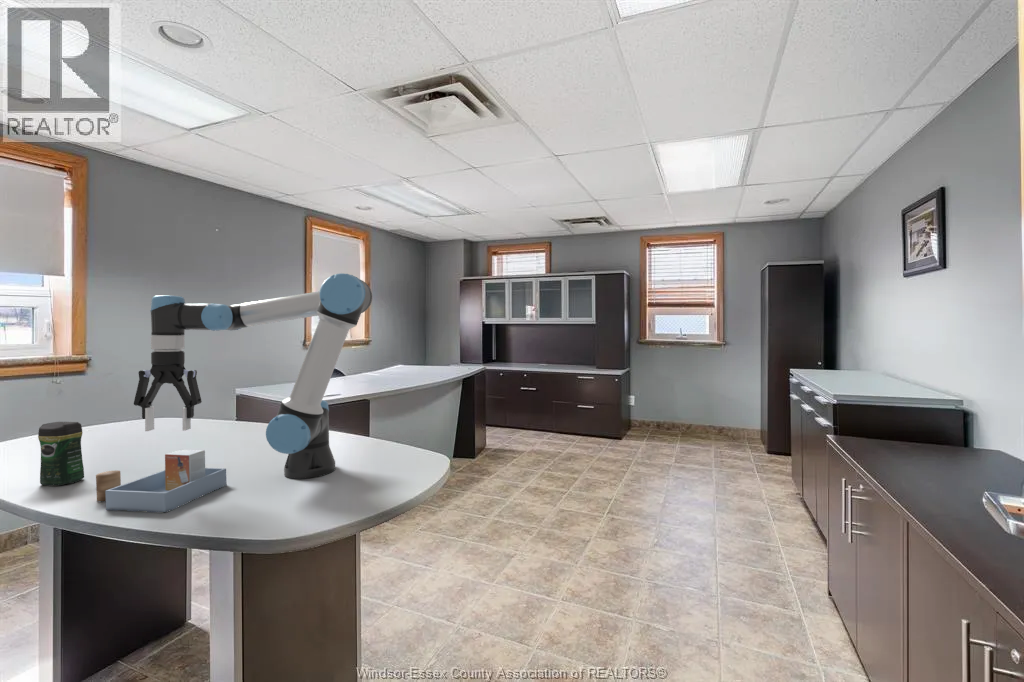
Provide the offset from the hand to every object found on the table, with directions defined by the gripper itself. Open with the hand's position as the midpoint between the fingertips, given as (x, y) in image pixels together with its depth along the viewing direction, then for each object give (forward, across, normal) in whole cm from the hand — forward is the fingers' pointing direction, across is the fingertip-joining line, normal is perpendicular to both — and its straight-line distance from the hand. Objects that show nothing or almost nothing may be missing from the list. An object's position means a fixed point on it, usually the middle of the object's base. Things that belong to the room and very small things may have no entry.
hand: (168, 429), depth 128 cm
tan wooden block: (+18, +13, +2) cm, 23 cm away
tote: (+18, -3, +4) cm, 18 cm away
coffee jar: (+19, +37, -15) cm, 44 cm away
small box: (+17, -4, 0) cm, 18 cm away
